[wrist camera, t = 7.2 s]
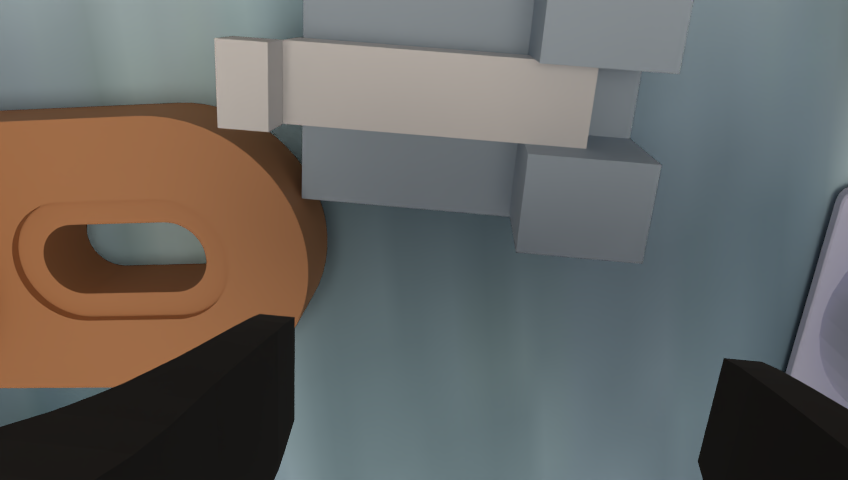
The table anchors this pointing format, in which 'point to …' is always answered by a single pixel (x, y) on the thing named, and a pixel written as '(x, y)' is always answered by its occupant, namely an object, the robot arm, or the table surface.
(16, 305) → the bracket
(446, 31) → the vise
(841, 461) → the robot arm
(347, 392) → the table surface
